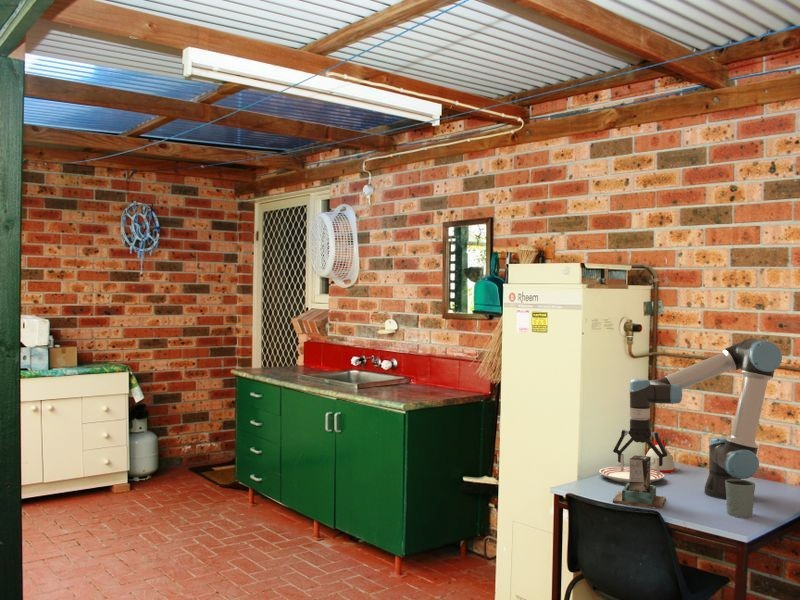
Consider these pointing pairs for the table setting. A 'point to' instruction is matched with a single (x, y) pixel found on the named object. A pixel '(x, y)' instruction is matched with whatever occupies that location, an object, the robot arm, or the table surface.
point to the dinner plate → (626, 474)
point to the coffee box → (640, 474)
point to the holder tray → (639, 497)
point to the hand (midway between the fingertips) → (640, 472)
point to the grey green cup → (739, 497)
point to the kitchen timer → (667, 461)
